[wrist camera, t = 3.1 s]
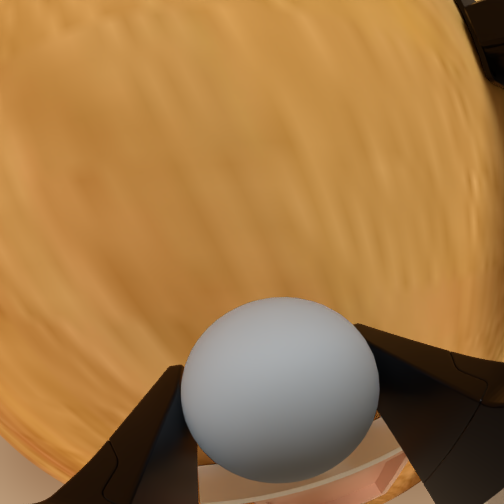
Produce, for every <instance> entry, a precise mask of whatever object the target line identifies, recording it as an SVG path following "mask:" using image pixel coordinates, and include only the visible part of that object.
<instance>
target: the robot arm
mask: <svg viewBox="0 0 504 504" xmlns="http://www.w3.org/2000/svg"><path fill="white" fill-rule="evenodd" d="M456 1H457V3H458V5H459V7H460V9H461V11H462V14H463V16H464V18H465V20H466V22H467V25H468V27H469V29H470V32H471V34H472V37H473V39H474V42H475V44H476V47H477V50H478V53H479V56H480V58H481V62H482V65H483V68H484V71H485V74H486V76H487V78H488V80H489V81H490V82H492V83H493V84H495V85H497V86H499V87H501V88H503V89H504V0H480V1H477V2H476V1H475V0H456ZM354 326H355V328H356V329H357V330H358V331H359V332H360V334H361V335H362V336H363V337H364V339H365V340H366V342H367V344H368V346H369V347H370V349H371V351H372V353H373V356H374V359H375V362H376V366H377V370H378V374H379V388H380V391H379V400H378V407H377V411H378V412H379V414H380V415H381V417H382V419H383V420H384V422H385V423H386V425H387V426H388V428H389V430H390V431H391V433H392V434H393V436H394V437H395V439H396V441H397V442H398V444H399V445H400V447H401V448H402V450H403V452H404V453H405V455H406V456H407V458H408V460H409V461H410V463H411V464H412V466H413V468H414V469H415V471H416V472H417V474H418V476H419V477H420V479H421V481H422V482H423V483H424V486H425V487H426V489H427V491H428V492H429V494H430V496H431V497H432V499H433V501H434V502H435V504H484V503H486V502H487V503H488V504H504V363H503V362H497V361H491V360H485V359H480V358H475V357H470V356H466V355H462V354H459V353H455V352H450V351H448V350H444V349H441V348H437V347H434V346H430V345H427V344H424V343H420V342H417V341H413V340H410V339H407V338H404V337H400V336H397V335H394V334H391V333H387V332H384V331H381V330H378V329H375V328H372V327H368V326H365V325H362V324H359V323H357V324H354ZM183 372H184V366H183V365H175V366H170V367H168V368H167V370H166V371H165V372H164V373H163V375H162V376H161V377H160V378H159V379H158V381H157V382H156V383H155V384H154V385H153V387H152V388H151V389H150V390H149V392H148V393H147V394H146V395H145V396H144V398H143V399H142V400H141V401H140V402H139V404H138V405H137V406H136V407H135V408H134V410H133V411H132V412H131V413H130V414H129V416H128V417H127V418H126V419H125V420H124V422H123V423H122V424H121V425H120V426H119V428H118V429H117V430H116V431H115V432H114V434H113V435H112V436H111V437H110V438H109V440H110V441H107V442H106V443H105V444H104V445H103V446H102V448H101V449H100V450H99V451H98V452H97V453H96V454H95V456H94V457H93V458H92V459H91V460H90V461H89V462H88V463H87V464H86V465H85V466H84V467H83V468H82V469H81V470H80V471H79V472H78V473H77V474H76V475H74V476H73V477H72V478H71V479H70V480H69V481H68V482H67V483H66V484H65V485H63V486H62V487H61V488H60V489H59V490H58V491H57V492H56V493H54V494H53V495H52V496H51V497H49V498H48V499H46V500H44V501H41V502H38V503H34V504H199V503H198V469H197V442H196V441H195V439H194V438H193V436H192V434H191V432H190V430H189V428H188V426H187V423H186V421H185V417H184V414H183V409H182V404H181V382H182V376H183Z"/></svg>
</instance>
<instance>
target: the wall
mask: <svg viewBox="0 0 504 504" xmlns="http://www.w3.org/2000/svg"><path fill="white" fill-rule="evenodd" d="M400 451H402V448H401V447H400V445H399V444H398V442H397V441H396V439H395V437H394V436H393V434H392V433H391V431H390V430H389V428H388V426H387V425H386V423H385V422H384V420H383V419H382V417H380V418H378V419H376V420H374V421H373V422H372V424H371V426H370V428H369V430H368V432H367V434H366V436H365V437H364V439H363V440H362V442H361V443H360V444H359V445H358V447H357V448H356V449H355V450H354V451H353V452H352V453H351V454H350V455H349V456H348V457H347V458H346V459H344V460H343V461H342V462H341V463H339V464H338V465H336V466H335V467H333V468H332V469H330V470H328V471H326V472H325V473H322V474H320V475H318V476H315V477H313V478H310V479H306V480H303V481H298V482H291V483H264V482H258V481H253V480H249V479H246V478H243V477H241V476H238V475H236V474H233V473H231V472H229V471H228V470H226V469H224V468H223V467H221V466H220V465H218V464H213V465H204V466H198V479H199V493H200V503H201V504H244V503H250V502H256V501H262V500H267V499H272V498H276V497H281V496H285V495H289V494H293V493H297V492H301V491H304V490H308V489H311V488H314V487H318V486H321V485H324V484H327V483H330V482H333V481H335V480H338V479H341V478H344V477H346V476H349V475H351V474H354V473H356V472H359V471H361V470H363V469H366V468H368V467H370V466H372V465H374V464H377V463H379V462H381V461H383V460H385V459H387V458H389V457H391V456H393V455H395V454H397V453H399V452H400Z"/></svg>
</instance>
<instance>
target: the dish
mask: <svg viewBox="0 0 504 504" xmlns="http://www.w3.org/2000/svg"><path fill="white" fill-rule="evenodd" d="M407 462H408V458H407V456H406V455H405V453H404V452H403V450H402V451H400V452H399V453H397V454H395V455H393V456H391V457H389V458H387V459H385V460H383V461H381V462H379V463H377V464H374V465H372V466H370V467H368V468H366V469H363V470H361V471H359V472H356V473H354V474H351V475H349V476H346V477H344V478H341V479H338V480H335V481H333V482H330V483H327V484H324V485H321V486H318V487H314V488H311V489H308V490H304V491H301V492H297V493H293V494H289V495H285V496H281V497H276V498H272V499H267V500H262V501H256V502H254V503H255V504H364V503H366V502H368V501H371V500H373V499H375V498H377V497H379V496H381V495H383V494H385V493H386V492H387V491H388V490H389V488H390V487H391V486H392V484H393V483H394V481H395V480H396V478H397V477H398V475H399V474H400V472H401V471H402V469H403V468H404V466H405V465H406V463H407Z"/></svg>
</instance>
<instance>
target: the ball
mask: <svg viewBox="0 0 504 504" xmlns="http://www.w3.org/2000/svg"><path fill="white" fill-rule="evenodd" d="M379 391H380V388H379V374H378V370H377V366H376V362H375V359H374V356H373V353H372V351H371V349H370V347H369V346H368V344H367V342H366V340H365V339H364V337H363V336H362V335H361V334H360V332H359V331H358V330H357V329H356V328H355V326H354V325H353V324H351V323H350V322H349V321H348V320H347V319H345V318H344V317H343V316H342V315H340V314H339V313H337V312H335V311H333V310H332V309H330V308H328V307H326V306H324V305H322V304H319V303H316V302H313V301H309V300H305V299H300V298H291V297H275V298H267V299H261V300H257V301H253V302H249V303H247V304H244V305H242V306H239V307H237V308H235V309H233V310H232V311H230V312H228V313H226V314H225V315H223V316H222V317H221V318H219V319H218V320H216V321H215V322H214V323H213V324H212V325H211V326H210V327H208V329H207V330H206V331H205V332H204V333H203V334H202V335H201V337H200V338H199V339H198V341H197V342H196V344H195V345H194V347H193V349H192V350H191V353H190V355H189V357H188V360H187V362H186V364H185V367H184V372H183V376H182V382H181V404H182V409H183V414H184V417H185V421H186V423H187V426H188V428H189V430H190V432H191V434H192V436H193V438H194V439H195V441H196V442H197V443H198V445H199V446H200V448H201V449H202V450H203V451H204V452H205V453H206V454H207V455H208V456H209V457H210V458H211V459H212V460H213V461H214V462H215V463H217V464H218V465H220V466H221V467H223V468H224V469H226V470H228V471H229V472H231V473H233V474H236V475H238V476H241V477H243V478H246V479H249V480H253V481H258V482H264V483H291V482H298V481H303V480H306V479H310V478H313V477H315V476H318V475H320V474H322V473H325V472H326V471H328V470H330V469H332V468H333V467H335V466H336V465H338V464H339V463H341V462H342V461H343V460H344V459H346V458H347V457H348V456H349V455H350V454H351V453H352V452H353V451H354V450H355V449H356V448H357V447H358V445H359V444H360V443H361V442H362V440H363V439H364V437H365V436H366V434H367V432H368V430H369V428H370V426H371V424H372V422H373V419H374V417H375V413H376V410H377V407H378V400H379Z"/></svg>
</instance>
